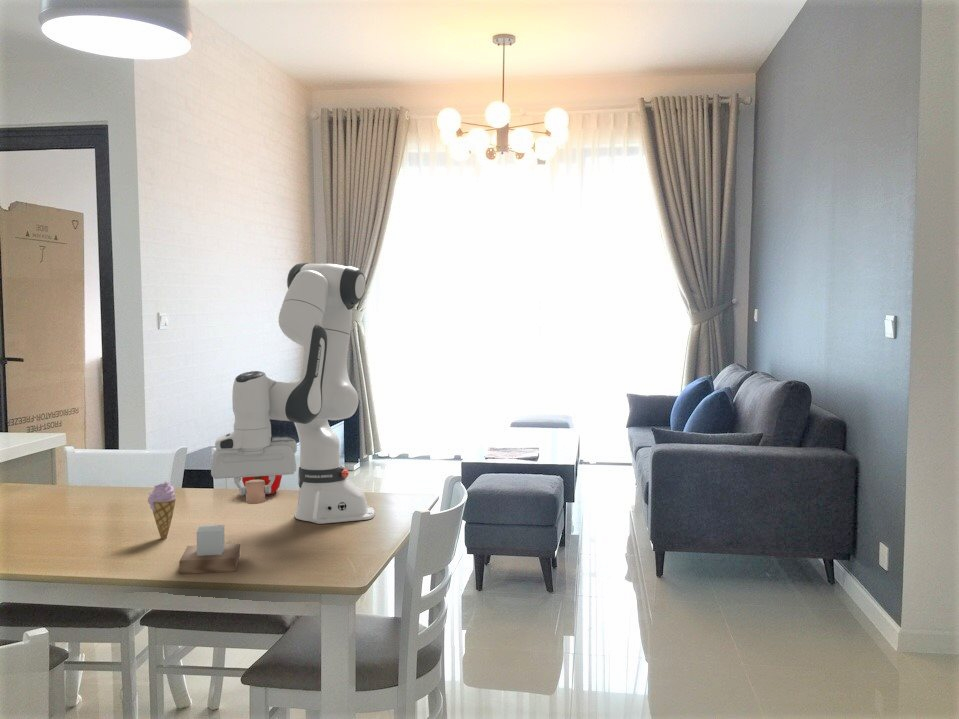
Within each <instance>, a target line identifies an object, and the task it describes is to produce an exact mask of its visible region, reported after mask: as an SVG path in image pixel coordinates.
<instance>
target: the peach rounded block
mask: <svg viewBox="0 0 959 719" xmlns="http://www.w3.org/2000/svg"><path fill="white" fill-rule="evenodd" d="M244 487H246V495H245V503H246V504H247V505H259V504H264V503H266V495H265V488H264V487H265V481H264V480H249V481H246V482H245V486H244Z"/></svg>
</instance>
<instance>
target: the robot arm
mask: <svg viewBox="0 0 959 719" xmlns="http://www.w3.org/2000/svg"><path fill="white" fill-rule="evenodd" d="M366 284H367V283H366V277H365V275H364V272H363V271H362V270H361V269H360V268H358V267H355V266H351V265H348V266H346V265H341V264H336V263H308V262H300V263H296V264H295V265H293V267H291V268H290V270H289V271H288V274H287V280H286V286H287V291H286V294H285V296H284V299H283V302H282V304H281V308H280V310H279V314H278V326H279V328H280V330H281V332H282V334H284V336H286V337H287V338H288V339H290V340H291V341H292V342H294V343H295V344H298V345H300V346H301V347H303V349H304V355H303V357H304V358H303V363H302V369H301V377H300V378H299V379H295V380H292V381H289V382H283V381H277V380H273V379H271V378H269V377H268V376H267V374H266V373H265V372H264V371H261V370H260V371H259V370H253V371H252V370H251V371H247V372H246V371H245V372H243V373H240V374H239V375H237V376H235V378H234V381H233V386H232V401H231V402H232V403H231V404H232V412H233V415H234V424H233V431H232V432H230V433H226V434H224V435H220V436H219V437H217V439H216V440H215V442H214V447H215V450H214V452H213V454H212V457H211V465H210V466H211V467H210V476H212V478H213V479H214V480H218V479H221V480H222V479H233V482H234V484H235V486H236V487H237V488H238V490H239V492H238V493H239V496H246V487H245V486H244V485H242V483H241V481H242V477H255V476H269V480H271V481H270V482H269V484H268V485H265V487H264V488H265V494H268V493H271V486H272V484H273V482H274V480H275V475H282V476H283V475H284V476H287V475H293V474H295V473H296V471H297V460H296V455H295V454H296V453H297V451H298V450H297V449H298V447H297V444H298V443H299V467H298V471H297V472H298V474H297V477H298V478H297V480H298V481H297V482H298V487H299V492H298V499H297V500H298V501H297V505H296V510H295V513H294V517H295V519H297V520H300V521H304V522H311V523H314V524H317V525H321V524H331V523H333V524H335V523H342V522H343V523H344V522H354V521H355V522H356V521H363V520H370V519H373V518H374V517H375V508H373V507H372V506H370V505H368V503H367V497H366V494H365V493H364V490H362V489H361V488H360V487H358V486H357V485H355V483H353V482H352V481H350V480H349V479H347V478H348V477H349V473H350V472H349V470H347V468H346V467H345V466H342V465H341V464H340V460H341V459H340V456H341V455H340V439H339V437H338V436H337V435H336V432H334V431H333V430H332V428H331V426H330V423H329V421H340V420H345V419H349V418H351V417H352V416H353V415H355V413H356V411H357V409H358V407H359V401H360V400H359V394H358V392H357V389H355V387H354V386H353V385H352V383H351V381H350V380H351V379H350V376H349V373H348V364H347V362H348V352H349V346H350V345H349V344H350V338H351V332H352V323H353V308H354V307H355V306H356V305H357V304H359V302H361V300H362V299H363V297H364V295H365V293H366V292H365V291H366ZM271 420H276V421H283V422H284V421H285V422H292V423H293V424H294V427H295V428H296V432H297V436H298V440H299V441H298V443H297V441H296V440H295V439H294V438H292V437H291V436H283V437H282V436H281V437H280V436H276V437H275V436H274V437H272V424H271ZM328 420H329V421H328Z"/></svg>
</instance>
